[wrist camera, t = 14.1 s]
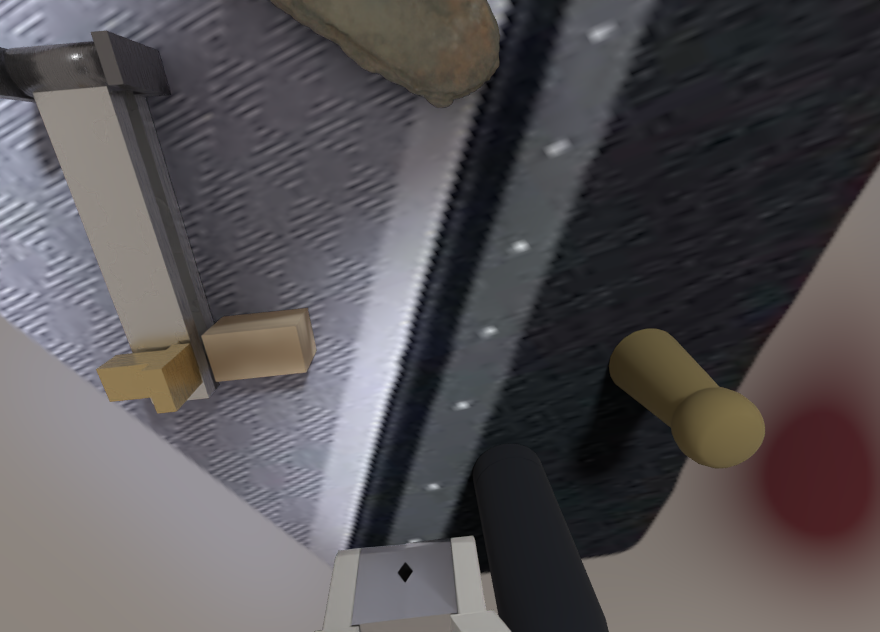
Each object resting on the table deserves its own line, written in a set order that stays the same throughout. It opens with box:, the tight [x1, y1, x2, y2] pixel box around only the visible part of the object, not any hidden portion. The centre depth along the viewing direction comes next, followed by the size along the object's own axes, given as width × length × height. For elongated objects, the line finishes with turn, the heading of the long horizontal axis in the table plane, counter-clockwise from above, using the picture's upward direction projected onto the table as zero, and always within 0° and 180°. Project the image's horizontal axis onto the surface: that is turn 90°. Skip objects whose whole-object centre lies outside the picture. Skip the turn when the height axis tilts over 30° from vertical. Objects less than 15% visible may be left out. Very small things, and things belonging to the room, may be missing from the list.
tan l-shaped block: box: [96, 343, 203, 413], centre depth 28 cm, size 3×5×4 cm, turn 95°
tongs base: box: [0, 31, 214, 362], centre depth 28 cm, size 22×7×5 cm, turn 5°
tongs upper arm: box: [4, 41, 220, 404], centre depth 27 cm, size 22×5×2 cm, turn 5°
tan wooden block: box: [201, 308, 317, 382], centre depth 32 cm, size 4×6×4 cm, turn 95°
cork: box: [609, 329, 765, 468], centre depth 31 cm, size 6×6×11 cm
